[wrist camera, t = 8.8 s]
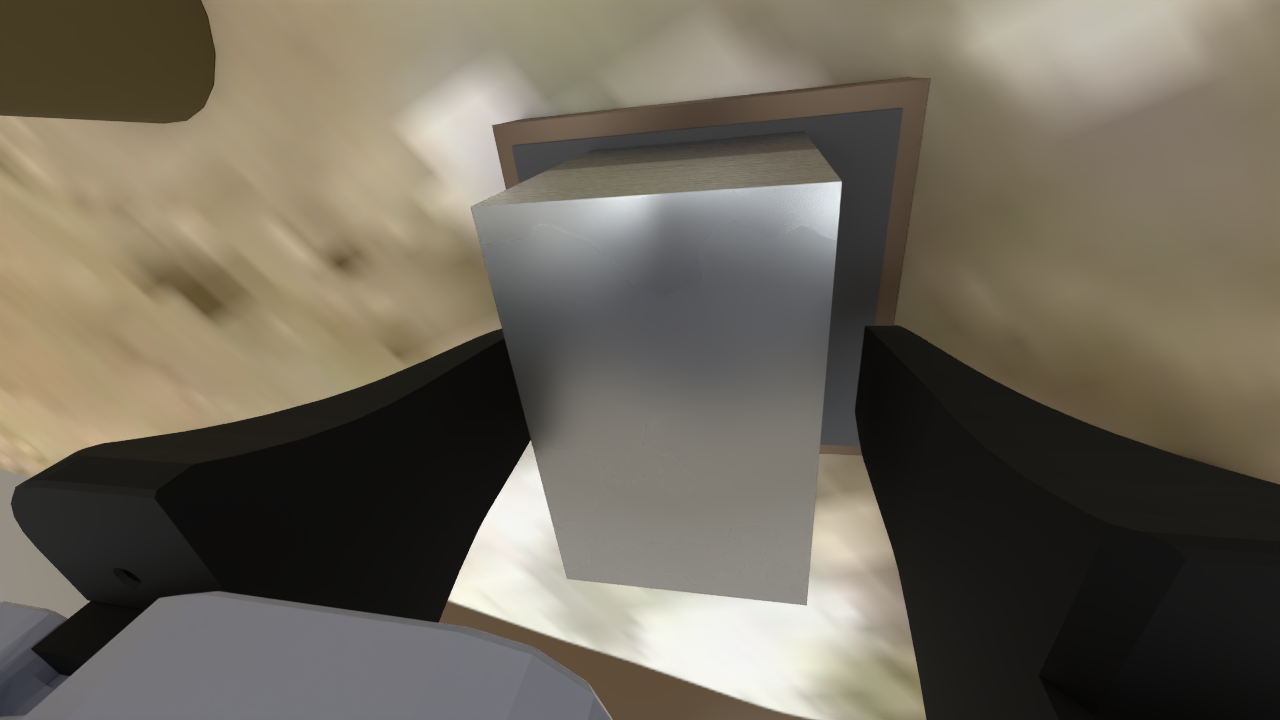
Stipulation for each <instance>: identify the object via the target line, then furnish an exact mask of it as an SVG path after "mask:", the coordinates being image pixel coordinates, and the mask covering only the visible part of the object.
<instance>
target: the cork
mask: <svg viewBox="0 0 1280 720" xmlns="http://www.w3.org/2000/svg"><path fill="white" fill-rule="evenodd" d="M214 65H215V51H214V46H213V41H212V37H211V32H210V27H209V22H208V17H207V14H206V12H205V10H204V7H203V5H202V3H201V0H0V115H3V116H23V117H44V118H64V119H84V120H104V121H124V122H144V123H172V122H179V121H187V120H188V119H189V118H190V117H192V116H193V115H194V114H196V113H197V112H198V111H200V110H201V109H202V108H203V107H204V105H205V103H206V101H207V98H208V96H209V94H210V92H211V89H212V87H213V84H214Z"/></svg>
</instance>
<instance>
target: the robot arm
mask: <svg viewBox="0 0 1280 720" xmlns="http://www.w3.org/2000/svg"><path fill="white" fill-rule="evenodd" d="M855 417H856V424H857V430H858V436H859V442H860V448H861V453H862V456H863V459H864V463H865V466H866V469H867V472H868V475H869V478H870V481H871V484H872V487H873V491H874V494H875V497H876V500H877V503H878V506H879V509H880V512H881V515H882V518H883V521H884V524H885V527H886V530H887V533H888V536H889V539H890V542H891V545H892V549H893V552H894V556H895V560H896V563H897V567H898V571H899V576H900V580H901V585H902V590H903V595H904V600H905V605H906V610H907V614H908V619H909V625H910V630H911V635H912V640H913V646H914V651H915V656H916V662H917V667H918V672H919V678H920V684H921V689H922V695H923V701H924V707H925V713H926V719H927V720H1280V485H1279V484H1275V483H1272V482H1268V481H1265V480H1261V479H1258V478H1254V477H1250V476H1247V475H1243V474H1240V473H1236V472H1232V471H1229V470H1225V469H1222V468H1218V467H1215V466H1211V465H1208V464H1205V463H1202V462H1198V461H1195V460H1192V459H1189V458H1185V457H1182V456H1179V455H1176V454H1172V453H1169V452H1166V451H1163V450H1160V449H1158V448H1155V447H1152V446H1149V445H1146V444H1143V443H1140V442H1137V441H1134V440H1132V439H1129V438H1126V437H1123V436H1120V435H1117V434H1114V433H1111V432H1109V431H1106V430H1104V429H1101V428H1098V427H1096V426H1093V425H1090V424H1088V423H1085V422H1083V421H1081V420H1078V419H1076V418H1074V417H1071V416H1069V415H1066V414H1064V413H1062V412H1059V411H1057V410H1055V409H1052V408H1050V407H1048V406H1045V405H1043V404H1041V403H1039V402H1036V401H1034V400H1032V399H1030V398H1028V397H1026V396H1024V395H1022V394H1020V393H1018V392H1016V391H1014V390H1012V389H1010V388H1008V387H1006V386H1004V385H1002V384H1000V383H998V382H996V381H995V380H993V379H991V378H989V377H987V376H985V375H983V374H982V373H980V372H978V371H976V370H974V369H973V368H971V367H969V366H968V365H966V364H964V363H962V362H961V361H959V360H957V359H956V358H954V357H952V356H951V355H949V354H947V353H946V352H944V351H942V350H941V349H939V348H937V347H936V346H934V345H933V344H931V343H929V342H928V341H926V340H924V339H923V338H921V337H919V336H918V335H916V334H914V333H913V332H911V331H909V330H907V329H905V328H903V327H901V326H865V329H864V338H863V346H862V354H861V363H860V371H859V379H858V387H857V396H856V404H855ZM530 440H531V438H530V434H529V430H528V426H527V422H526V419H525V415H524V411H523V407H522V403H521V399H520V395H519V392H518V388H517V384H516V380H515V376H514V372H513V368H512V365H511V361H510V357H509V353H508V349H507V345H506V341H505V338H504V334H503V330H502V329H499V330H496V331H493V332H490V333H487V334H484V335H482V336H479V337H477V338H475V339H472V340H470V341H468V342H465V343H463V344H461V345H459V346H457V347H454V348H452V349H450V350H448V351H445V352H443V353H441V354H439V355H437V356H434V357H432V358H430V359H428V360H426V361H423V362H421V363H418V364H416V365H414V366H411V367H409V368H407V369H404V370H402V371H399V372H397V373H395V374H392V375H390V376H388V377H385V378H383V379H380V380H378V381H375V382H372V383H370V384H367V385H364V386H362V387H359V388H356V389H353V390H350V391H347V392H344V393H341V394H338V395H335V396H332V397H329V398H326V399H322V400H319V401H315V402H312V403H308V404H304V405H301V406H297V407H293V408H290V409H286V410H282V411H279V412H275V413H271V414H267V415H263V416H259V417H254V418H250V419H246V420H241V421H237V422H232V423H227V424H222V425H217V426H212V427H207V428H202V429H196V430H190V431H185V432H178V433H172V434H165V435H158V436H152V437H145V438H139V439H132V440H125V441H118V442H110V443H103V444H99V445H95V446H92V447H88V448H85V449H82V450H79V451H77V452H75V453H73V454H71V455H70V456H68V457H66V458H65V459H63V460H61V461H59V462H58V463H56V464H54V465H53V466H51V467H49V468H47V469H46V470H44V471H42V472H40V473H39V474H37V475H35V476H33V477H32V478H30V479H28V480H26V481H25V482H23V483H21V484H20V485H18V486H16V487H15V491H14V494H13V497H12V502H11V505H12V510H13V514H14V517H15V519H16V521H17V522H18V524H19V526H20V527H21V529H22V531H23V532H24V533H25V535H26V536H27V537H28V538H29V539H30V540H31V542H32V543H33V544H34V545H35V546H36V547H37V549H39V551H40V552H41V553H42V554H43V555H44V556H45V557H46V558H47V559H48V560H49V561H50V562H51V563H52V564H53V565H54V566H55V567H56V568H57V569H58V570H59V571H60V572H61V573H62V574H63V575H64V576H65V577H66V578H67V579H68V580H69V581H70V582H71V583H72V585H73V586H74V587H76V589H77V590H78V591H79V592H80V593H81V594H82V595H83V596H84V597H85V598H86V599H87V600H90V602H89V603H88V604H87V605H85V606H84V607H83V608H81V609H80V610H79V611H78V612H77V613H75V614H74V615H73V616H71V617H70V618H69V619H67V618H66V617H64V616H62V615H60V614H59V613H57V612H55V611H52V610H49V609H45V608H39V607H33V606H27V605H22V604H16V603H10V602H0V720H613V719H612V718H611V717H610V715H609V714H608V712H607V710H606V709H605V707H604V706H603V705H602V703H601V701H600V700H599V698H598V697H597V696H596V694H595V692H594V691H593V689H592V688H591V687H590V685H589V684H588V682H587V681H585V680H584V679H582V678H581V677H579V676H577V675H576V674H574V673H573V672H571V671H570V670H568V669H567V668H565V667H564V666H562V665H560V664H559V663H558V662H556V661H555V660H553V659H551V658H550V657H548V656H547V655H545V654H544V653H542V652H541V651H539V650H538V649H536V648H535V647H532V646H529V645H526V644H523V643H519V642H516V641H513V640H509V639H506V638H502V637H500V636H496V635H493V634H490V633H487V632H483V631H480V630H477V629H473V628H470V627H464V626H457V625H450V624H443V623H439V620H440V618H441V615H442V612H443V610H444V608H445V605H446V602H447V600H448V598H449V596H450V593H451V591H452V588H453V586H454V584H455V581H456V579H457V576H458V574H459V571H460V569H461V567H462V565H463V562H464V560H465V558H466V556H467V554H468V551H469V549H470V547H471V545H472V543H473V540H474V538H475V536H476V534H477V532H478V530H479V528H480V526H481V524H482V522H483V520H484V518H485V517H486V515H487V513H488V511H489V509H490V508H491V506H492V504H493V503H494V501H495V499H496V498H497V496H498V494H499V493H500V491H501V489H502V488H503V486H504V484H505V483H506V481H507V479H508V478H509V476H510V474H511V473H512V471H513V469H514V468H515V466H516V464H517V463H518V461H519V459H520V457H521V456H522V454H523V452H524V450H525V449H526V447H527V445H528V444H529V442H530Z"/></svg>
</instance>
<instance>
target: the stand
mask: <svg viewBox="0 0 1280 720" xmlns="http://www.w3.org/2000/svg"><path fill="white" fill-rule="evenodd" d="M930 79H931V78H910V77H908V78H899V79H889V80H880V81H871V82H862V83H853V84H843V85H834V86H825V87H816V88H807V89H797V90H788V91H779V92H770V93H760V94H751V95H742V96H733V97H724V98H714V99H705V100H696V101H687V102H678V103H668V104H659V105H650V106H641V107H632V108H622V109H613V110H604V111H595V112H585V113H576V114H567V115H558V116H549V117H539V118H530V119H521V120H516V121H511V122H506V123H502V124H497V125H492V127H493V132H494V136H495V141H496V145H497V150H498V154H499V159H500V163H501V168H502V172H503V177H504V181H505V186H506V190H507V189H509V188H511V187H513V186H516V185H518V184H520V183H522V182H524V181H526V180H528V179H530V178H532V177H535V176H537V175H539V174H541V173H543V172H545V171H547V170H549V169H551V168H553V167H556V166H558V165H560V164H562V163H564V162H566V161H568V160H570V159H572V158H575V157H577V156H579V155H581V154H583V153H585V152H587V151H589V150H599V149H610V148H621V147H632V146H643V145H654V144H665V143H676V142H687V141H698V140H709V139H720V138H731V137H742V136H753V135H764V134H775V133H786V132H797V131H804V132H805V133H806V134H807V136H808V137H809V138H810V140H811V141H812V142H813V144H814V145H815V146H816V148H817V149H818V150H819V152H820V153H821V154H822V156H823V157H824V158H825V160H826V161H827V162H828V164H829V165H830V166H831V168H832V169H833V170H834V172H835V173H836V174H837V176H838V177H839V178H840V180H841V181H842V187H841V199H840V211H839V223H838V235H837V247H836V259H835V271H834V283H833V295H832V307H831V319H830V331H829V343H828V355H827V367H826V379H825V391H824V403H823V415H822V427H821V439H820V451H819V454H841V455H862V453H861V448H860V442H859V436H858V430H857V424H856V417H855V404H856V396H857V387H858V379H859V371H860V363H861V354H862V346H863V338H864V329H865V326H894V319H895V313H896V306H897V299H898V293H899V286H900V279H901V273H902V266H903V259H904V253H905V246H906V239H907V233H908V226H909V219H910V213H911V206H912V199H913V193H914V186H915V179H916V172H917V166H918V159H919V152H920V146H921V139H922V132H923V126H924V119H925V112H926V106H927V99H928V92H929V86H930Z"/></svg>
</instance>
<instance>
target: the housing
mask: <svg viewBox="0 0 1280 720" xmlns="http://www.w3.org/2000/svg"><path fill="white" fill-rule="evenodd" d="M841 187H842V181H841V180H840V178H839V177H838V176H837V174H836V173H835V172H834V170H833V169H832V168H831V166H830V165H829V164H828V162H827V161H826V160H825V158H824V157H823V156H822V154H821V153H820V152H819V150H818V149H817V148H816V146H815V145H814V144H813V142H812V141H811V140H810V138H809V137H808V136H807V134H806V133H805V132H804V131H797V132H786V133H775V134H764V135H753V136H742V137H731V138H720V139H709V140H698V141H687V142H676V143H665V144H654V145H643V146H632V147H621V148H610V149H599V150H589V151H587V152H585V153H583V154H581V155H579V156H577V157H575V158H572V159H570V160H568V161H566V162H564V163H562V164H560V165H558V166H556V167H553V168H551V169H549V170H547V171H545V172H543V173H541V174H539V175H537V176H535V177H532V178H530V179H528V180H526V181H524V182H522V183H520V184H518V185H516V186H513V187H511V188H509V189H507V190H505V191H503V192H501V193H499V194H497V195H494V196H492V197H490V198H488V199H486V200H484V201H482V202H480V203H478V204H475V205H473V206H471V210H472V214H473V218H474V222H475V226H476V229H477V233H478V237H479V241H480V245H481V249H482V253H483V257H484V260H485V264H486V268H487V272H488V276H489V280H490V284H491V287H492V291H493V295H494V299H495V303H496V307H497V311H498V314H499V318H500V322H501V326H502V330H503V334H504V338H505V341H506V345H507V349H508V353H509V357H510V361H511V365H512V368H513V372H514V376H515V380H516V384H517V388H518V392H519V395H520V399H521V403H522V407H523V411H524V415H525V419H526V422H527V426H528V430H529V434H530V438H531V442H532V446H533V449H534V453H535V457H536V461H537V465H538V469H539V473H540V477H541V480H542V484H543V488H544V492H545V496H546V500H547V504H548V507H549V511H550V515H551V519H552V523H553V527H554V531H555V534H556V538H557V542H558V546H559V550H560V554H561V558H562V561H563V565H564V569H565V573H566V577H567V579H573V580H582V581H591V582H600V583H609V584H618V585H627V586H636V587H645V588H654V589H664V590H673V591H682V592H691V593H700V594H709V595H718V596H727V597H736V598H745V599H754V600H763V601H772V602H781V603H791V604H800V605H807V595H808V583H809V571H810V559H811V547H812V535H813V523H814V511H815V499H816V487H817V475H818V463H819V451H820V439H821V427H822V415H823V403H824V391H825V379H826V367H827V355H828V343H829V331H830V319H831V307H832V295H833V283H834V271H835V259H836V247H837V235H838V223H839V211H840V199H841Z"/></svg>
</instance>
